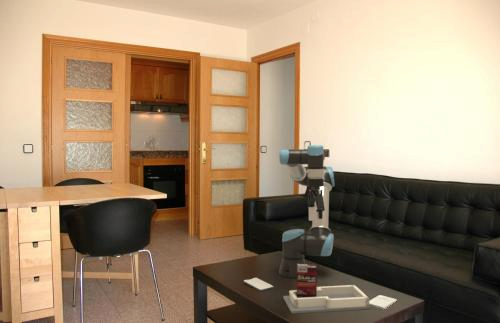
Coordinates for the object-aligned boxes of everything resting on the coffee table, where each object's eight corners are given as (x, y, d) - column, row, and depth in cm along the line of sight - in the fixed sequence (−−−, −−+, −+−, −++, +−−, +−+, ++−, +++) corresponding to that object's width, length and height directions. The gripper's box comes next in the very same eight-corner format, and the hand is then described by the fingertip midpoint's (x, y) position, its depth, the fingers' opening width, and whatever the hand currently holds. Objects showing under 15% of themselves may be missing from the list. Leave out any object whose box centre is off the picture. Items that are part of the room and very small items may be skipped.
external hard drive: (365, 306, 170) (379, 297, 179) (384, 311, 164) (396, 302, 173) (365, 302, 170) (379, 294, 179) (384, 307, 164) (396, 299, 173)
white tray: (283, 298, 178) (283, 288, 178) (354, 294, 182) (354, 284, 182) (291, 313, 162) (291, 302, 161) (369, 309, 165) (369, 298, 165)
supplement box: (296, 304, 169) (296, 266, 168) (296, 299, 174) (296, 263, 173) (317, 304, 168) (317, 267, 167) (316, 300, 173) (316, 264, 172)
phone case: (275, 289, 191) (256, 280, 204) (275, 286, 191) (256, 277, 204) (260, 293, 186) (241, 283, 199) (260, 290, 186) (241, 280, 199)
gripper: (301, 176, 199) (301, 218, 200) (315, 180, 174) (315, 228, 175) (315, 176, 200) (315, 218, 201) (331, 179, 175) (331, 227, 176)
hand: (315, 223), depth 188 cm, fingers open, 13 cm apart
